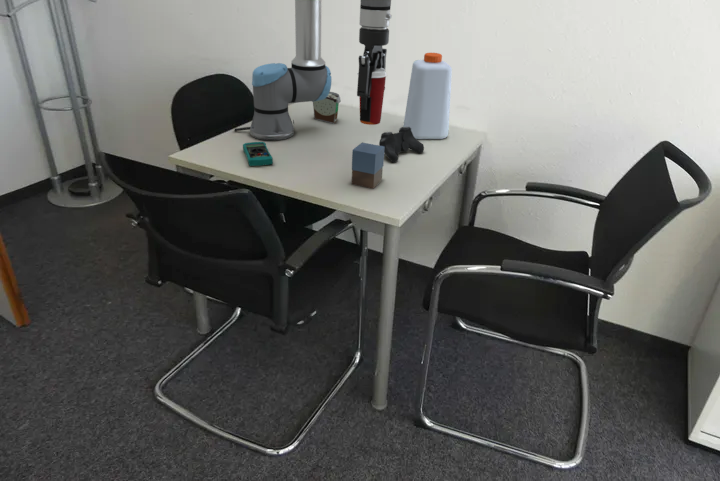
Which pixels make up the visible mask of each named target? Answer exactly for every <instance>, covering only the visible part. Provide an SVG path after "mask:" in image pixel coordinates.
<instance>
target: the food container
mask: <svg viewBox="0 0 720 481" xmlns="http://www.w3.org/2000/svg"><path fill="white" fill-rule="evenodd" d="M341 101H342V100H341V96H340V94H339V93H337V92H334V91H330V92H329V94H328V96H327V97H326V98H325V99H323V100H318V101H315V102H312V107H313V118H314V120H317V121H321V122H324V123H325V122H326V123H330V124H333V125H334V124H337V122H338V114H339V105H340V103H341Z"/></svg>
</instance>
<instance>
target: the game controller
mask: <svg viewBox="0 0 720 481" xmlns="http://www.w3.org/2000/svg"><path fill="white" fill-rule="evenodd" d="M378 145H379V146H384V147H385V149H384V155H385V156H386V157H387V158H388V160H389V161H390V162H391V163H397V162H398V161H399V156H398V154H400V153H403V152H407V151H409V150H411V151H413V152H415V153H417V154H423V153H424V152H425V146H424V143H422V142H421V141H419V140H418V139H416V138H415V137H414V136H413V133H412V131H411V128H410V127H403V126H402V127H399V130H398V132H396V133H393V131H386V132H382V133H381V134H380V139H379V143H378Z"/></svg>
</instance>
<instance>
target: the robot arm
mask: <svg viewBox="0 0 720 481" xmlns="http://www.w3.org/2000/svg"><path fill="white" fill-rule="evenodd" d="M322 1H323V0H294V13H295V14H294V21H295V22H294V23H295V29H294V30H295V33H294V34H295V57H294V58H292V60H291V67H288V66H287V64H285V63H280V62H278V63H275V62H271V63H266V64H262V65H258V66H257V67H255V68H254V70H253V71H252V76H251V77H252V78H251V79H252V80H251V81H252V82H251V85H252V98H253V110H254V112H253V116H252V120H251V124H250V126H244V127H236V128H234V129H233V130H234V132H241V131H250V132H249V133H250V136H251V137H252V138H255V139H257V140H262V141H281V140H282V141H283V140H286V139H289V138H292V137H293V136H294V135H295V127H294V125H295V120H294V119H292V118H291V116H290V113H289V104H294V103H295V104H296V103H297V104H298V103H308V102H312V103H313V102H315V101H318V100H323V99H325V98H326V97H327V96H328V94H329V92H331V88H332V75H331V74H332V72H331V69H330V67H329V66H327V65H326V61H325V60H324V59H323V57H322V14H323V13H322V12H323V10H322V7H323V6H322V5H323V4H322V3H323V2H322ZM359 5H360V6H359V26H360V28H359V32H358V34H359V35H358V42H359V44H361V45H363V46H364V50H363V54H362V55H359V56H358V72H357V73H358V74H357V88H356V97H359V96H360V97H361V103H360V102H359V122H360V121H366V122H370V115H371V97H370V92H371V86H372V78H371V77H372V72H374V71H375V70H376V68H378V69H380V68H384V69H385V70H386V63H387V62H386V60H387V52H388V49H387V48H384V47H383V46H387V45H388V44H389V42H390V29H389V27H390V23H391V22H390V21H391V19H392V16H393V15H392V14H391V6H392V0H360V4H359ZM385 90H386V88H385V89H384V91H385Z"/></svg>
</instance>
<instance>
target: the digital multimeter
mask: <svg viewBox="0 0 720 481" xmlns="http://www.w3.org/2000/svg"><path fill="white" fill-rule="evenodd" d="M242 150H243V152H244V154H245V156H246V159H247V162H248V166H250V167H261V166H271V165H272V164H274V159H273V156H272V155H271V153H270V151H269V149H268V147H267V143H266V142H265V141H252V142H244V143H243V144H242Z"/></svg>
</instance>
